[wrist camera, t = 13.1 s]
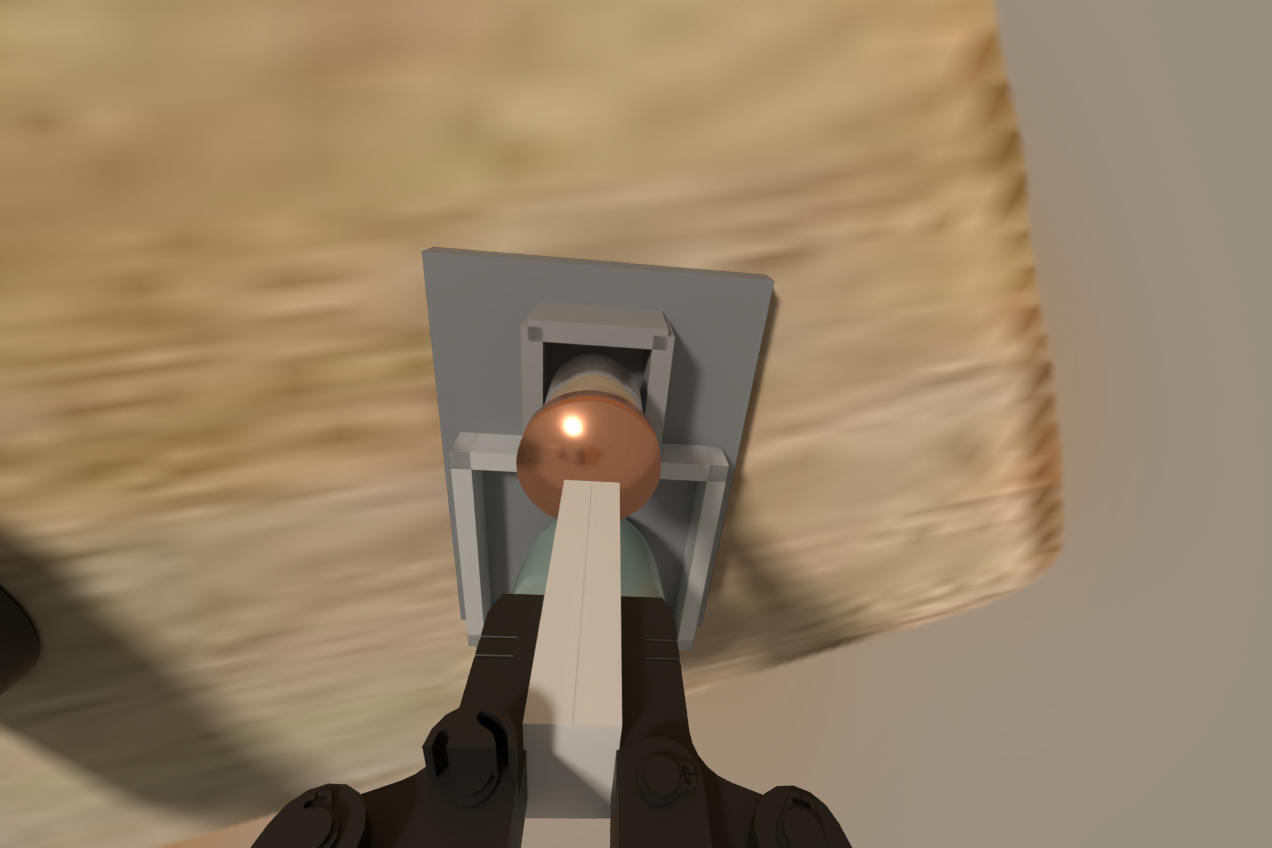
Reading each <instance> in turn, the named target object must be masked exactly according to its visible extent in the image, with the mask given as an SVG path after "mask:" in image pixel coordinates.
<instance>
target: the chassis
mask: <svg viewBox="0 0 1272 848" xmlns="http://www.w3.org/2000/svg"><path fill="white" fill-rule="evenodd" d="M422 259H423V268H424V277H425V287H426V296H427V305H428V315H429V324H430V333H431V342H432V352H433V361H434V370H435V380H436V389H437V398H438V408H439V417H440V426H441V436H442V445H443V454H444V464H445V473H446V482H447V491H448V501H449V510H450V519H451V529H452V538H453V547H454V557H455V566H456V575H457V585H458V594H459V603H460V613H461V619H466V624H467V634H468V644H469V646H478V643H479V639H480V638H481V633H482V629H483V626H484V622H485V619H486V616H487V612H488V611H489V610H490V608H491V607H492V606H493V605H494V604H495V602H496V601H497V600H498V599H499V597H500V596H501V595H502V594H503V593H506V594H512V591H513V588H514V585H515V582H516V578H517V576H518V573H519V570H520V567H521V565H522V563H523V560H524V558H525V556H526V554H527V552H528V551H529V549H530V547H531V545H532V544H533V542H534V540H535V539H536V538H537V536H538V535H539V534H540V533H541V532H542V531H543V529H544V528H545V527H546V526H547V525H549V524H550V523H551V522H552V521H554V520H555V519H556V518H554V517H552V516H550V515H548V514H546V513H545V512H543V511H542V510H541V509H539V508H538V507H537V506H536V505H535V504H534V503H533V502H532V501H531V500H530V499H529V498H528V496H527V495H526V493H525V492H524V490H523V489H522V486H521V484H520V482H519V479H518V475H517V469H516V457H517V452H518V448H519V445H520V442H521V439H522V436H523V433H524V431H525V428H526V426H527V424H528V422H529V420H530V419H531V417H532V416H533V415H534V414H535V412H536V411H537V410H538V409H539V408H540V407H542V406H543V405H544V404H545V401H546V398H547V394H548V391H549V388H550V384H551V381H552V379H553V376H554V375H555V373H556V371H557V370H558V369H559V367H560V366H561V365H562V364H563V363H565V362H566V361H567V360H569V359H571V358H572V357H574V356H577V355H580V354H583V353H590V352H598V353H605V354H609V355H611V356H614V357H616V358H618V359H620V360H621V361H623V362H624V363H625V364H626V365H627V366H629V367H630V369H631V370H632V371H633V373H634V374H635V376H636V378H637V380H638V383H639V387H640V394H641V402H642V410H643V413H644V414H645V415H646V417H647V418H648V419H649V421H650V422H651V424H652V426H653V428H654V430H655V433H656V436H657V440H658V444H659V450H660V457H661V474H660V479H659V482H658V485H657V487H656V489H655V491H654V493H653V495H652V496H651V497H650V499H649V500H648V501H647V502H646V503H645V504H644V505H643V506H642V507H641V508H640V509H639V510H637V511H636V512H635V513H633V514H631V515H630V516H628V517H626V518H625V519H627V520H628V521H629V522H631V523H632V524H633V525H634V526H635V527H636V528H637V529H639V531H640V532H641V533H642V534H643V536H644V537H645V538H646V540H647V541H648V543H649V545H650V547H651V549H652V551H653V554H654V556H655V558H656V561H657V564H658V567H659V571H660V575H661V579H662V584H663V589H664V594H665V600H666V604H667V606H668V607H669V609H670V610H671V612H672V614H673V615H674V618H675V626H676V633H677V643H678V649H679V651H691V650H692V645H693V640H694V636H695V631H696V626H702V622H703V617H704V612H705V607H706V603H707V598H708V593H709V588H710V584H711V579H712V574H713V569H714V565H715V560H716V555H717V550H718V546H719V541H720V536H721V531H722V527H723V522H724V517H725V512H726V508H727V503H728V498H729V493H730V489H731V484H732V479H733V474H734V470H735V465H736V460H737V455H738V451H739V446H740V441H741V436H742V432H743V427H744V422H745V418H746V413H747V408H748V403H749V399H750V394H751V389H752V384H753V380H754V375H755V370H756V365H757V361H758V356H759V351H760V346H761V342H762V337H763V332H764V327H765V323H766V318H767V313H768V308H769V304H770V299H771V294H772V289H773V285H774V280H773V279H771V278H769V277H768V276H766V275H762V274H750V273H738V272H726V271H714V270H702V269H690V268H678V267H666V266H654V265H642V264H630V263H618V262H606V261H595V260H583V259H571V258H559V257H547V256H535V255H523V254H511V253H499V252H487V251H475V250H463V249H451V248H439V247H432V248H429V249H427V250H424V251H422Z"/></svg>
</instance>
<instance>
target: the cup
mask: <svg viewBox="0 0 1272 848" xmlns="http://www.w3.org/2000/svg"><path fill="white" fill-rule="evenodd" d="M557 520H558V519H555V520H554V521H552V522H551V523H550V524H549V525H547V526H546V527H545V528H544V529H543V531H542V532H541V533H540V534H539V535H538V536H537V538H536V539H535V540H534V542H533V544H532V545H531V547H530V549H529V551H528V552H527V554H526V556H525V558H524V560H523V563H522V565H521V567H520V570H519V573H518V576H517V578H516V582H515V585H514V588H513V591H512V594H535V595H545V590H546V584H547V578H548V572H549V567H550V561H551V555H552V549H553V543H554V537H555V531H556V526H557ZM620 577H621V596H630V597H658V598H663V599H664V601H665V602H666V600H665V594H664V589H663V584H662V579H661V575H660V571H659V567H658V564H657V561H656V558H655V556H654V554H653V551H652V549H651V547H650V545H649V543H648V541H647V540H646V538H645V537H644V536H643V534H642V533H641V532H640V531H639V529H637V528H636V527H635V526H634V525H633V524H632V523H631V522H629V521H628V520H627V519H625V518H624V519H622V520H620Z"/></svg>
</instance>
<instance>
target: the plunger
mask: <svg viewBox="0 0 1272 848" xmlns="http://www.w3.org/2000/svg"><path fill="white" fill-rule="evenodd" d="M516 469H517V475H518V479H519V482H520V484H521V486H522V489H523V490H524V492H525V493H526V495H527V496H528V498H529V499H530V500H531V501H532V502H533V503H534V504H535V505H536V506H537V507H538V508H539V509H541V510H542V511H543V512H545V513H546V514H548V515H550V516H552V517H554V518H556V519H558V514H559V508H560V502H561V496H562V490H563V484H564V480H577V481H596V482H615V483H620V520H622V519H624V518H626V517H628V516H630V515H631V514H633V513H635V512H636V511H637V510H639V509H640V508H641V507H642V506H643V505H644V504H645V503H646V502H647V501H648V500H649V499H650V497H651V496H652V495H653V493H654V491H655V489H656V487H657V485H658V482H659V479H660V474H661V457H660V450H659V444H658V440H657V436H656V433H655V430H654V428H653V426H652V424H651V422H650V421H649V419H648V418H647V417H646V415H645V414H644V413H643V410H642V402H641V394H640V387H639V383H638V380H637V378H636V376H635V374H634V373H633V371H632V370H631V369H630V367H629V366H627V365H626V364H625V363H624V362H623V361H621V360H620V359H618V358H616V357H614V356H611V355H609V354H605V353H598V352H590V353H583V354H580V355H577V356H574V357H572V358H571V359H569V360H567V361H566V362H565V363H563V364H562V365H561V366H560V367H559V369H558V370H557V371H556V373H555V375H554V376H553V379H552V381H551V384H550V388H549V391H548V394H547V398H546V401H545V404H544V405H543V406H542V407H540V408H539V409H538V410H537V411H536V412H535V414H534V415H533V416H532V417H531V419H530V420H529V422H528V424H527V426H526V428H525V431H524V433H523V436H522V439H521V442H520V445H519V448H518V452H517V457H516Z"/></svg>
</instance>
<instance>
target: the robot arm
mask: <svg viewBox="0 0 1272 848" xmlns="http://www.w3.org/2000/svg"><path fill="white" fill-rule="evenodd" d="M37 656H38V641H37V637H36V634H35V632H34V629H33V627H32V625H31V624H30V622H29V620H28V619H27V617H26V616H25V615H24V613H23V612H22V611H21V610H20V608H19V607H18V606H17V605H16V604H15V603H14V602H13V601H12V600H11V599H10V598H9V597H8V596H7V595H6V594H5V593H4V592H2V591H1V590H0V696H1V695H2V694H3V693H4V692H5V691H7V690H8V689H9V688H10V687H11V686H12V685H14V684H15V683H16V682H17V681H18V680H20V679H21V678H22V677H23V676H24V675H25V674H27V673H28V672H29V671H30V670H31V668H32V667H33V666H34V664H35V662H36V659H37ZM679 657H680V656H679V649H678V643H677V633H676V626H675V618H674V615H673V614H672V612H671V610H670V609H669V607H668V606H667V604H666V602H665V601H664V599H663V598H658V597H630V596H621V577H620V483H615V482H596V481H577V480H564V484H563V490H562V496H561V502H560V508H559V514H558V520H557V526H556V531H555V537H554V543H553V549H552V555H551V561H550V567H549V572H548V578H547V584H546V590H545V595H535V594H506V593H503V594H502V595H501V596H500V597H499V599H498V600H497V601H496V602H495V604H494V605H493V606H492V607H491V608H490V610H489V611H488V612H487V616H486V619H485V622H484V626H483V629H482V633H481V638H480V639H479V643H478V646H477V650H476V654H475V658H474V660H473V663H472V667H471V670H470V673H469V677H468V680H467V684H466V687H465V690H464V694H463V697H462V701H461V704H460V707H459V708H458V709H456V710H454V711H452V712H450V713H448V714H446V715H445V716H444V717H443V718H442V719H441V720H440V721H439V722H438V723H437V724H436V725H435V726H434V727H433V728H432V730H431V731H430V733H429V735H428V737H427V739H426V741H425V743H424V745H423V746H422V748H423V753H424V758H425V763H426V767H425V768H423V769H422V770H421V771H419V772H418V773H416V774H415V775H413V776H410V777H408V778H406V779H404V780H401V781H399V782H396V783H393V784H390V785H387V786H384V787H381V788H378V789H375V790H372V791H369V792H366V793H363V794H360V793H359V792H357V791H356V790H354V789H353V788H351V787H349V786H348V785H346V784H326V785H323V786H320V787H317V788H313V789H310V790H308V791H306V792H305V793H303V794H302V795H300V796H299V797H297V798H296V799H294V800H292V801H291V802H289V803H288V804H287V805H286V806H285V807H284V808H283V809H282V810H281V811H280V812H279V813H278V814H277V815H276V816H275V817H274V818H273V819H272V821H271V822H270V823H269V824H268V825H267V826H266V828H265V829H264V830H263V832H262V833H261V834H260V836H259V837H258V838H257V840H256V841H255V843H254V844H253V845H252V846H251V848H521V842H522V835H523V828H524V821H525V814H526V818H611V823H610V824H611V825H610V827H611V829H610V848H852V847H851V845H850V843H849V841H848V839H847V837H846V835H845V834H844V832H843V830H842V828H841V826H840V824H839V823H838V821H837V820H836V818H835V817H834V816H833V815H832V813H831V812H830V810H829V809H828V807H827V806H826V805H825V804H824V803H823V802H821V801H820V800H819V799H818V798H817V797H815V796H814V795H813V794H812V793H810V792H808V791H806V790H803V789H801V788H798V787H795V786H776V787H775V788H773V789H771V790H770V791H768V792H766V793H765V794H764V795H762V794H759V793H757V792H754V791H752V790H749V789H747V788H744V787H742V786H739V785H736V784H734V783H731V782H729V781H727V780H725V779H723V778H722V777H720V776H718V775H717V774H715V773H714V772H713V771H712V770H711V769H709V768H708V767H707V766H706V765H705V763H704V762H703V761H702V759H701V758H700V757H699V756H698V754H697V752H696V750H695V748H694V746H693V744H692V740H691V736H690V732H689V725H688V718H687V710H686V702H685V694H684V687H683V679H682V672H681V664H680V660H679Z"/></svg>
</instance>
